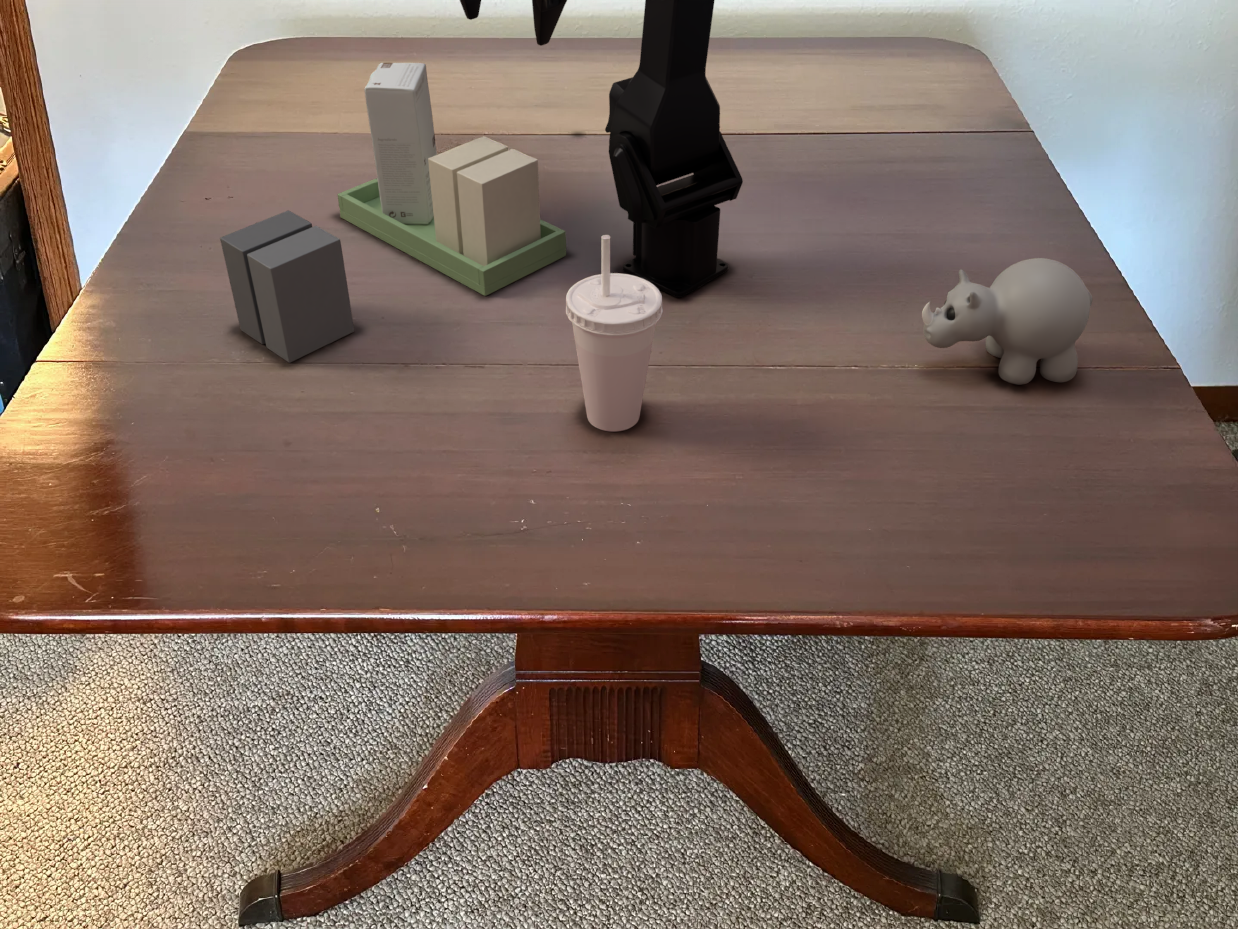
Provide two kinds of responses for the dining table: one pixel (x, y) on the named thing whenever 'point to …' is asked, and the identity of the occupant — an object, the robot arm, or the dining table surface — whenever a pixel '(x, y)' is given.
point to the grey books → (288, 284)
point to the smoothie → (613, 341)
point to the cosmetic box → (402, 139)
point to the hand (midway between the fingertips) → (507, 30)
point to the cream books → (485, 199)
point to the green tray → (421, 244)
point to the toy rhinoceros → (1018, 319)
